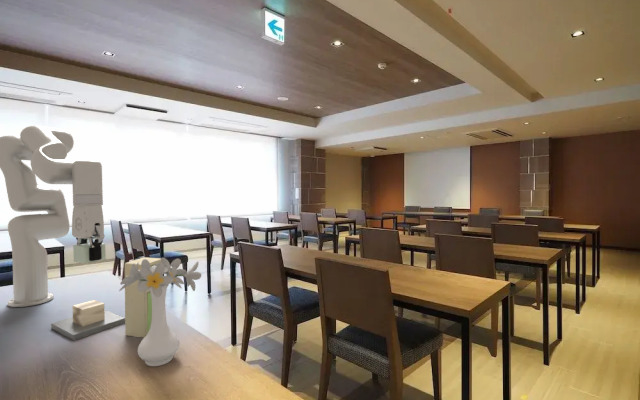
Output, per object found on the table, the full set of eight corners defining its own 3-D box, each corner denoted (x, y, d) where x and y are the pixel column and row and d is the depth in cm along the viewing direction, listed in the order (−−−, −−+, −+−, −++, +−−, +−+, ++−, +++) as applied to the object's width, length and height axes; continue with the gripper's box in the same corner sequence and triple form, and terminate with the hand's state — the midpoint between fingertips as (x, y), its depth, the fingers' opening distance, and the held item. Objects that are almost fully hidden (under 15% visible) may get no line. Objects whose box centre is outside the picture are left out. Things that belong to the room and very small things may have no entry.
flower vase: (208, 351, 87) (208, 256, 86) (136, 385, 72) (135, 270, 71) (179, 337, 95) (179, 250, 94) (108, 366, 80) (107, 262, 78)
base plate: (51, 328, 100) (51, 323, 100) (101, 313, 112) (101, 308, 112) (73, 340, 92) (73, 334, 92) (125, 322, 104) (125, 318, 104)
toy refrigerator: (147, 338, 94) (146, 264, 93) (124, 335, 95) (123, 262, 95) (165, 326, 102) (165, 258, 101) (144, 324, 103) (143, 257, 102)
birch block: (72, 321, 101) (72, 305, 101) (94, 315, 106) (94, 299, 106) (82, 326, 98) (82, 309, 98) (104, 319, 103) (104, 303, 103)
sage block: (73, 261, 102) (73, 245, 102) (94, 257, 107) (94, 242, 107) (84, 263, 99) (84, 246, 99) (105, 259, 105) (105, 243, 104)
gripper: (60, 200, 104) (62, 258, 104) (89, 201, 95) (90, 264, 96) (87, 199, 110) (88, 254, 111) (116, 200, 101) (117, 259, 102)
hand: (89, 258), depth 103 cm, fingers closed on sage block, 6 cm apart
